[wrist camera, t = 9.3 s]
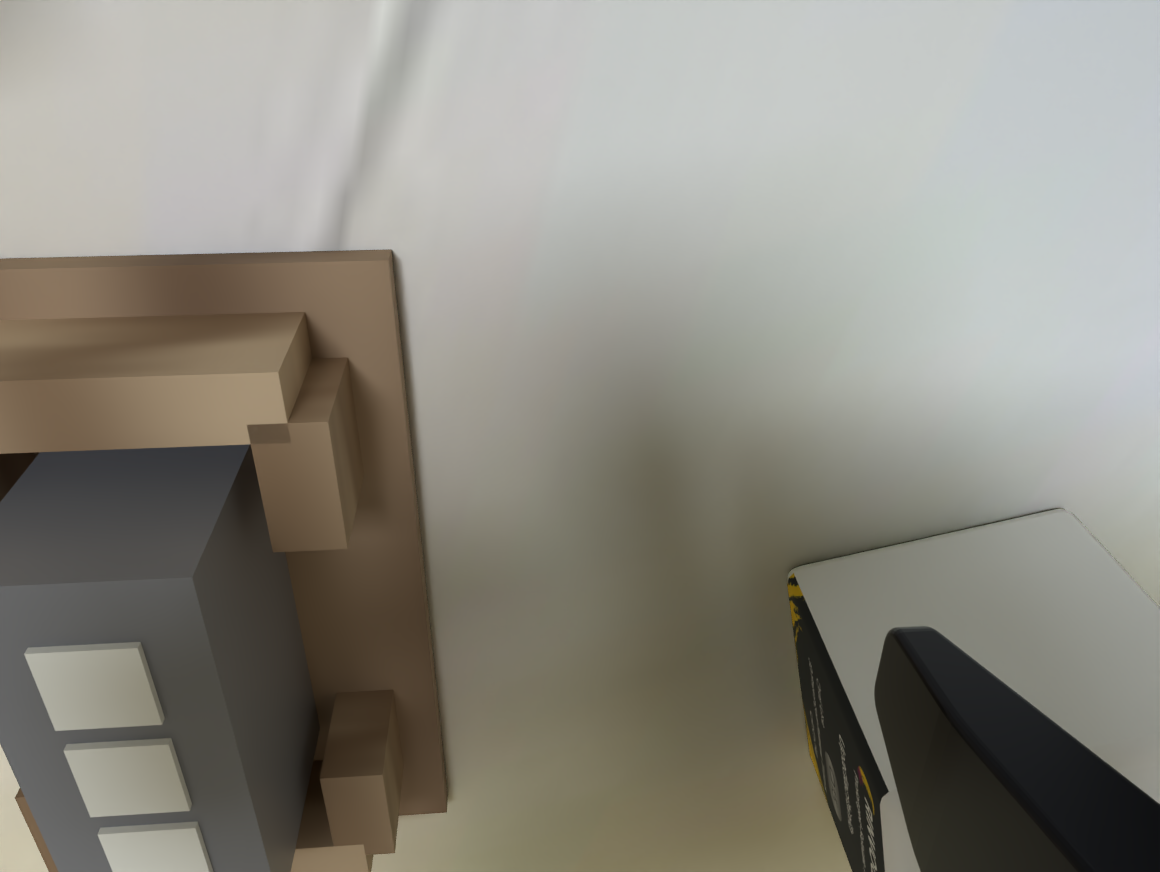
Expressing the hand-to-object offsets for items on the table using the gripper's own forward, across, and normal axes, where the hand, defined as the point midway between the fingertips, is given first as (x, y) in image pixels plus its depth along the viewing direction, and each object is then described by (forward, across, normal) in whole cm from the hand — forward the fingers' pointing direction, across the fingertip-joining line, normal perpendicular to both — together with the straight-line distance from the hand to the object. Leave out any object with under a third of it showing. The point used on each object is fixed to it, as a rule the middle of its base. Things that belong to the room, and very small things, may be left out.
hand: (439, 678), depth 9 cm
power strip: (+10, +7, +7) cm, 14 cm away
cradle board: (+11, +7, +8) cm, 15 cm away
